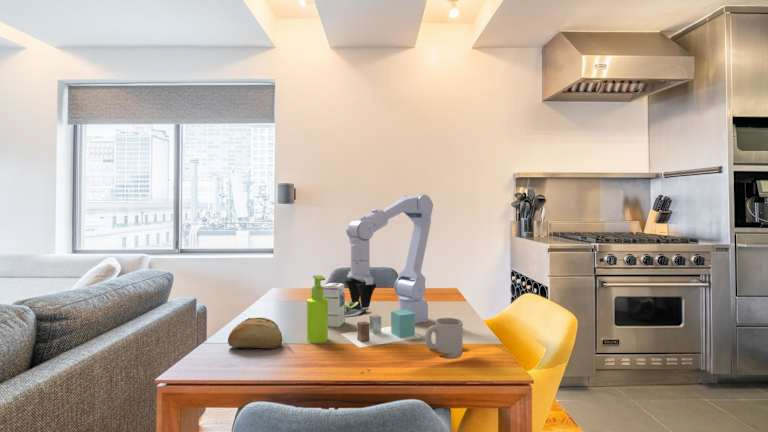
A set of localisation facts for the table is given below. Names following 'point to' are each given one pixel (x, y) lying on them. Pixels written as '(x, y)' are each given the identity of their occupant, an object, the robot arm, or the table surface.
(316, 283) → the soap dispenser
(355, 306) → the salad plate
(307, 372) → the table surface
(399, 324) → the teal rectangular block
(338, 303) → the syrup box
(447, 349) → the cup
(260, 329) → the bread roll
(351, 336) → the post board
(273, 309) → the table surface
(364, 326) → the walnut post
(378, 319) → the steel post
